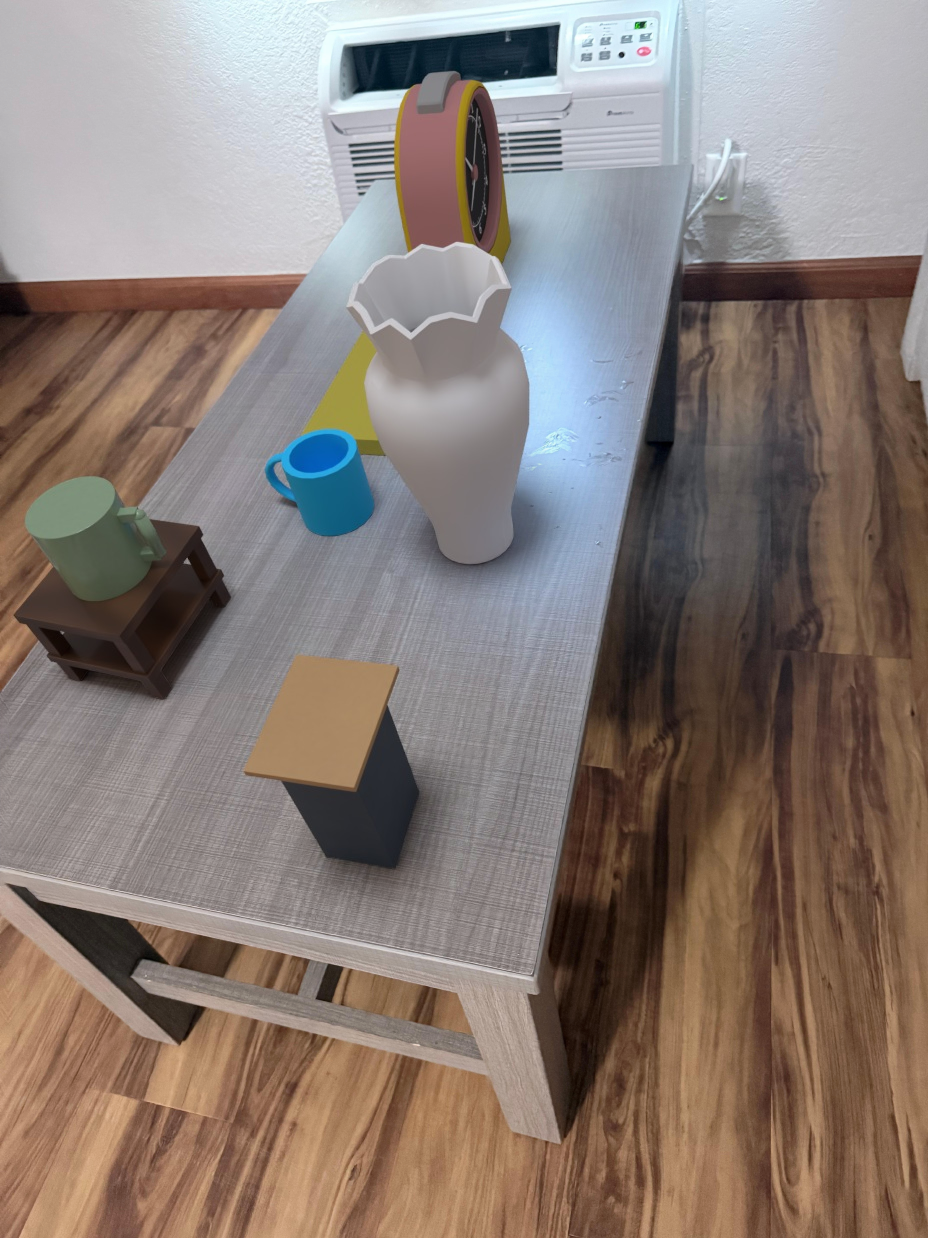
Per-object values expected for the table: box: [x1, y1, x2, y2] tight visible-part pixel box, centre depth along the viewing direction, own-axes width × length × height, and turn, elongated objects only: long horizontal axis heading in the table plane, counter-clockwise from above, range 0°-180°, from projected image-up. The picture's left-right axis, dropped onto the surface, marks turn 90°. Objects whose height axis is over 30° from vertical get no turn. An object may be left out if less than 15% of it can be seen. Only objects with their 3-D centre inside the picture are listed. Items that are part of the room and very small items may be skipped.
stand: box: [243, 654, 420, 870], centre depth 67 cm, size 10×8×16 cm
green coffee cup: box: [24, 475, 167, 601], centre depth 80 cm, size 10×8×8 cm
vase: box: [345, 242, 530, 565], centre depth 82 cm, size 15×15×29 cm
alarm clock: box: [393, 70, 512, 266], centre depth 119 cm, size 21×9×26 cm, turn 167°
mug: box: [264, 429, 375, 537], centre depth 96 cm, size 12×8×8 cm
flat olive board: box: [300, 330, 386, 456], centre depth 112 cm, size 12×2×24 cm
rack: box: [12, 518, 232, 700], centre depth 87 cm, size 14×12×10 cm
